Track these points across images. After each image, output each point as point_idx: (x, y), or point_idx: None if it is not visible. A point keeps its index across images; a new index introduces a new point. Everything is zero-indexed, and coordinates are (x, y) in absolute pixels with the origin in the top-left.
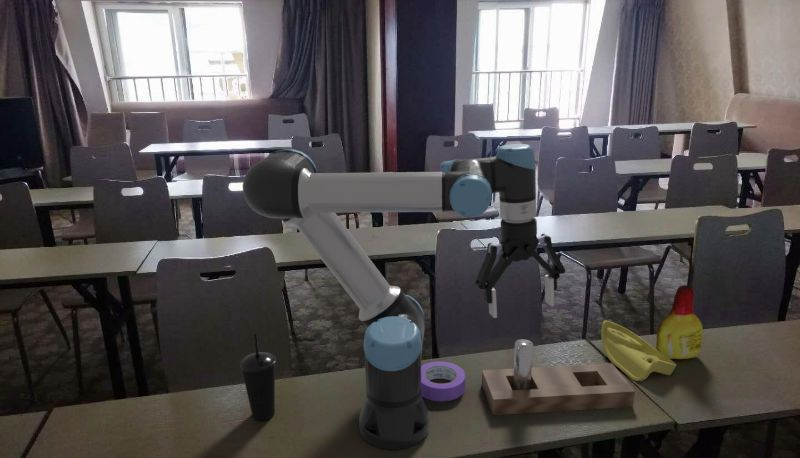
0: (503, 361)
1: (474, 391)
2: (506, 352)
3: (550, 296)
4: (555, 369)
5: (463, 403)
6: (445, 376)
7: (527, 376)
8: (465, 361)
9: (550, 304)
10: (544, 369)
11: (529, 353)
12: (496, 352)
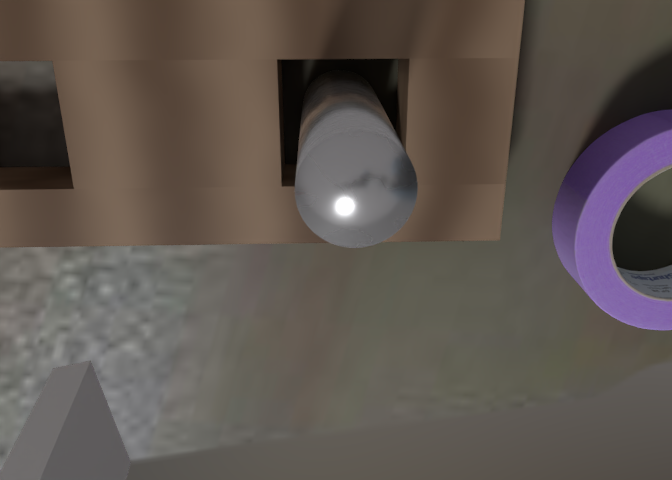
0: (342, 365)
1: (524, 168)
2: (312, 423)
3: (60, 447)
4: (151, 218)
5: (598, 86)
6: (619, 270)
7: (331, 93)
8: (495, 375)
9: (90, 382)
10: (204, 223)
11: (330, 126)
12: (353, 425)
